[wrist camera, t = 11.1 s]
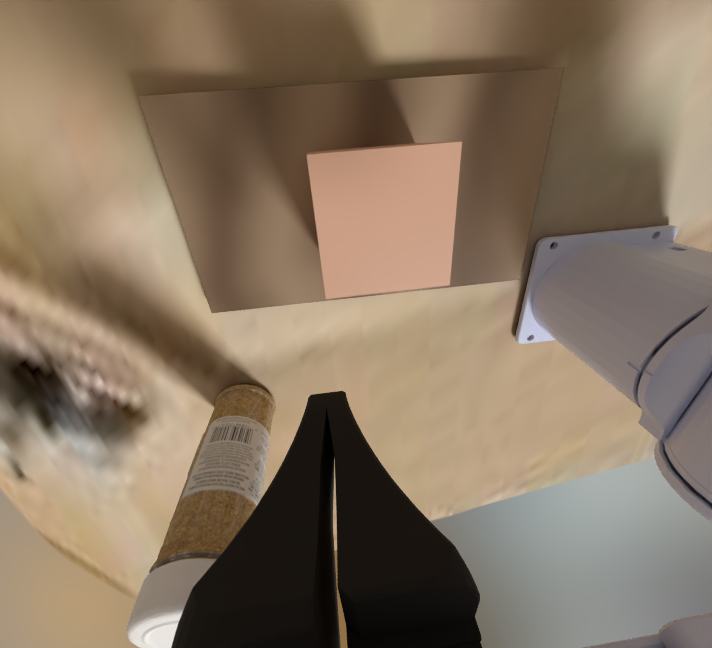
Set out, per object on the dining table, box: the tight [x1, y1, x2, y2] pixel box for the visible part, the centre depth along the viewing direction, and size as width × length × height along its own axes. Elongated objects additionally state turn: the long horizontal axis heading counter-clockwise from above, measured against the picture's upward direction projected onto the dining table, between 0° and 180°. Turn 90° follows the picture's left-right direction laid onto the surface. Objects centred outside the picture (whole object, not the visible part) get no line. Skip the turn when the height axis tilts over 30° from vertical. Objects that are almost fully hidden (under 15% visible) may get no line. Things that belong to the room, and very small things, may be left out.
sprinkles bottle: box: [127, 384, 276, 648], centre depth 19 cm, size 5×5×13 cm
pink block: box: [307, 142, 462, 299], centre depth 15 cm, size 5×5×6 cm
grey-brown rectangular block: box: [138, 68, 564, 313], centre depth 15 cm, size 20×11×6 cm, turn 94°
